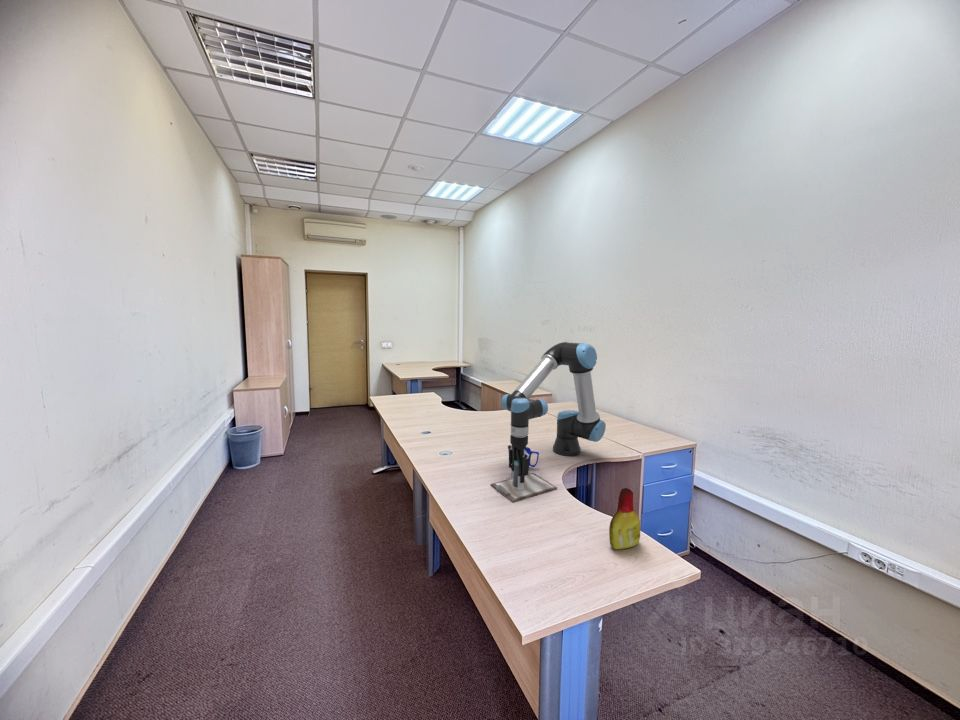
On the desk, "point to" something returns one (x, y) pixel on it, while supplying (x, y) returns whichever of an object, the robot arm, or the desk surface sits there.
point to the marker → (516, 474)
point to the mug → (530, 456)
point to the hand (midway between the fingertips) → (517, 487)
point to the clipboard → (531, 488)
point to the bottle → (624, 523)
